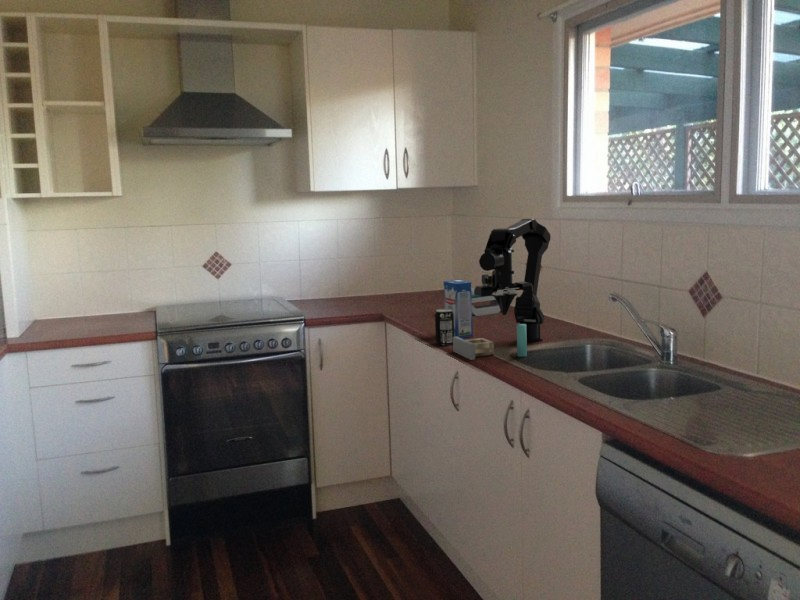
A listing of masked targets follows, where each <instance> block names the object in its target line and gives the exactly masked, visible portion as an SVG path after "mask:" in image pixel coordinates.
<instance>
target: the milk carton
mask: <svg viewBox="0 0 800 600" xmlns="http://www.w3.org/2000/svg"><path fill="white" fill-rule="evenodd" d="M471 288H472V281H471V282H470V281H467V280H460V279H455V280H446V281H445V280H444V281H443V301H444V304H443V307H444V309H452V312H453V314H454V334H455V337H456V336H457V337H460V338H462V339H465V338H471V337H473V336H474V329H473V328H474V327H473V326H474V325H473V315H472V306H473V303H472V292H471Z"/></svg>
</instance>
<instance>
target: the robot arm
mask: <svg viewBox="0 0 800 600" xmlns="http://www.w3.org/2000/svg"><path fill="white" fill-rule="evenodd" d="M520 237H521V238H522V239H523V241H524V247H525V249H526V251H527V258H526V267H525V272H524V280H523V281H517V282H513V275H514V274H515V271H514V270H513V265H512V264H513V263H512V262H513V260H512V258H513V257H512V253H515V250H514V248H512V247H513V245H515V243H516V242H517V239H518V238H520ZM550 242H551V233H550V232H549V230H548V229H547V228H546V226H544V225H542V224H541V223H538V221H537V220H536V219H534V218H522V219H520V220H519V221H517V222H515V223H514V224H511V225H510V226H507V227H502V228H493V229H492V230H491V232H490V234H489V236H488V239H487V242H486V246H485V248H484V251H483V252H484V253H482V254H481V256H480V257H479V260H478V263H479V266H480V268H481V269H482V270H483V271H487V272H489V271H491V275H489V274H488V273H486V274H482V275H481V284H482V285H476V286H475V287H474V288H475V289H474V294H475V295H479V296H494V297H495V299H496V300H497V302H498V304H499V307H500V310H501V311H500V313H501V314H502V316H507V314H508V311H509V308H510V307H511V304H512V302H513V301H514V299H515V304H514V308H513V314H514V318H515V323H517V324H526V333H527V343H531V342H539V341H543V338H541V324H544V322H545V315H544V313H543V311H542V310H541V302H540V300H539V298H538V294H537V293H538V286H539V280H540V272H541V268H542V267H541V265H542V261H543V260H542V258H543V255H544V254H545V253H546V251H547V250H548V248H549V244H550ZM516 291H522V292H521V294H520V296H518V293H516ZM503 292H504V293H503ZM515 297H516V298H515Z"/></svg>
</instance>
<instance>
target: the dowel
mask: <svg viewBox="0 0 800 600" xmlns="http://www.w3.org/2000/svg"><path fill="white" fill-rule="evenodd" d="M516 345H517V346H516V348H517V349H516V351H517V352H516V353H517V357H518V358H519V357H520V358H524V357H525V358H526V357H528V347H527V345H528V342H527V333H526V324H520V323H517V324H516Z"/></svg>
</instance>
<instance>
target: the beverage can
mask: <svg viewBox="0 0 800 600" xmlns="http://www.w3.org/2000/svg"><path fill="white" fill-rule="evenodd" d="M434 324H435V329H434V330H435V343H437V345H438V346H453V337H455V334H454V314H453V312H452V309H445V308H439V309H436V310H435V313H434Z"/></svg>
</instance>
